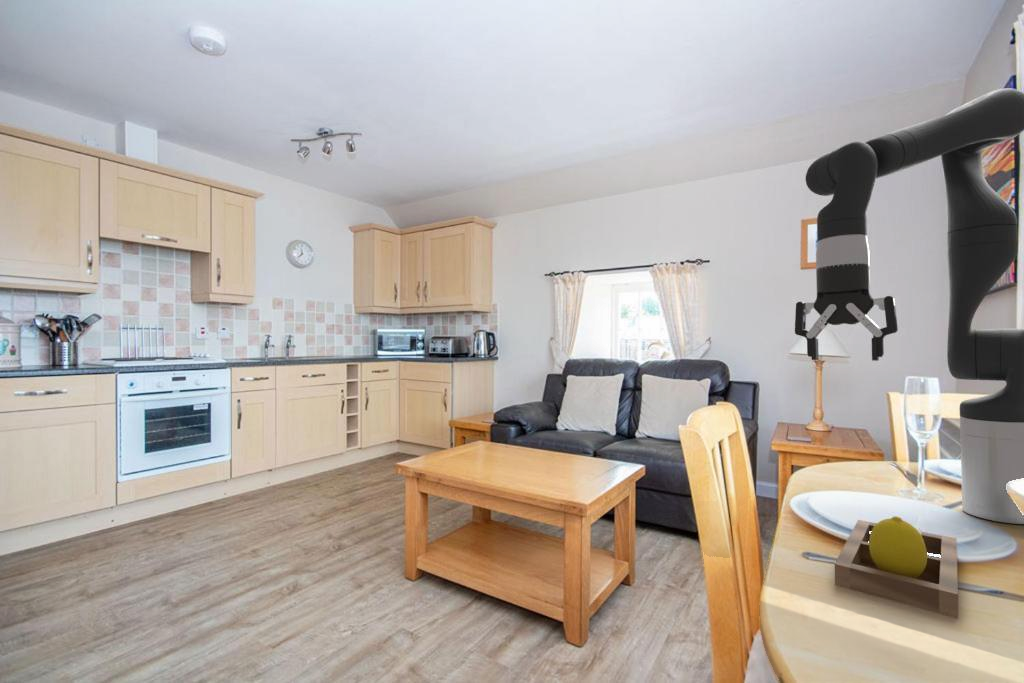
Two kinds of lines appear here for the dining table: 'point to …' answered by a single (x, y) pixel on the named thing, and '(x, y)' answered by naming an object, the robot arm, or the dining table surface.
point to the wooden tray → (924, 591)
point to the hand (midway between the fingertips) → (844, 360)
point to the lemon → (898, 548)
